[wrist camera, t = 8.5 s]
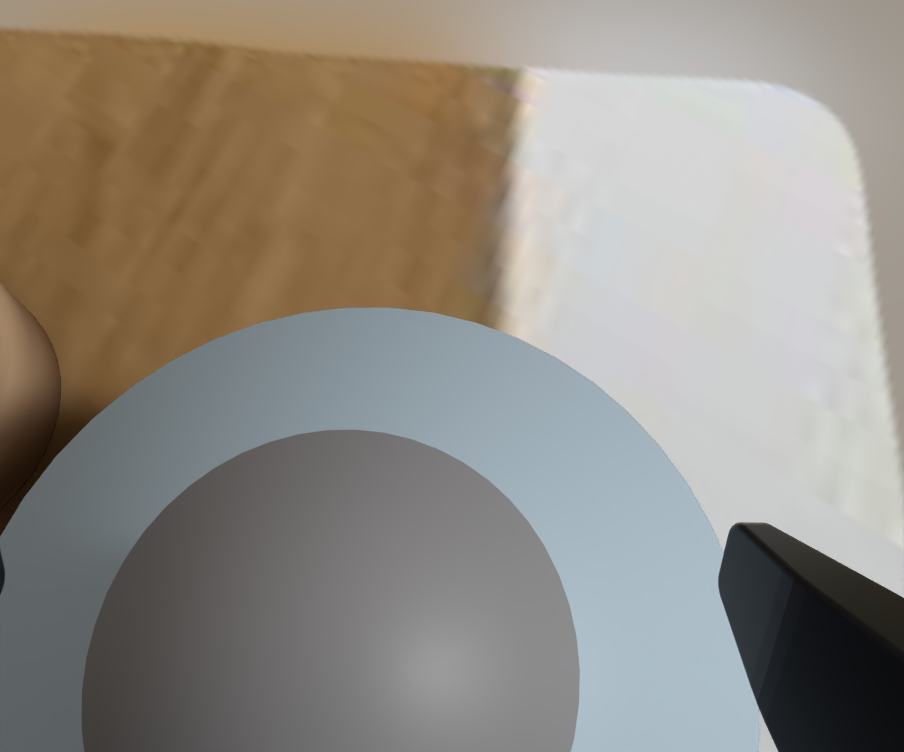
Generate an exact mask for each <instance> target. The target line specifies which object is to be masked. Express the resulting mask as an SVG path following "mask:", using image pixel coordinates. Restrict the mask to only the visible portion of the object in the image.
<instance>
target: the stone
mask: <svg viewBox="0 0 904 752" xmlns="http://www.w3.org/2000/svg"><path fill="white" fill-rule="evenodd" d="M60 398H61V377H60V371H59V365H58V360H57V357H56V354H55V351H54V348H53V345H52V343H51V341H50V339H49V337H48V336H47V334H46V332H45V330H44V329H43V327H42V326H41V325H40V323H39V322H38V321H37V319H36V318H35V317H34V316H33V315H32V314H31V313H30V312H29V311H28V310H27V309H26V308H25V307H24V306H23V305H22V304H21V303H20V302H19V301H18V300H17V299H16V298H15V297H14V296H13V295H12V294H11V293H10V292H9V291H8V290H7V289H6V288H5V287H4V286H3V285H2V284H1V283H0V508H2V507H3V506H4V505H5V504H6V503H7V502H8V501H9V500H10V499H11V498H12V497H13V496H14V495H15V494H16V492H17V491H18V490H19V489H20V488H21V487H22V486H23V484H24V483H25V482H26V480H27V479H28V478H29V476H30V475H31V474H32V472H33V471H34V470H35V468H36V466H37V464H38V463H39V461H40V459H41V458H42V456H43V454H44V452H45V450H46V448H47V446H48V443H49V441H50V439H51V436H52V434H53V431H54V428H55V424H56V420H57V417H58V413H59V405H60Z"/></svg>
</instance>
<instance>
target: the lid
mask: <svg viewBox="0 0 904 752" xmlns="http://www.w3.org/2000/svg"><path fill="white" fill-rule="evenodd" d="M0 550H1V554H2V559H3V563H4V567H5V582H4V586H3V590H2V592H1V595H0V752H759V740H760V723H759V707H758V705H757V702H756V700H755V697H754V694H753V692H752V689H751V686H750V683H749V680H748V677H747V674H746V671H745V668H744V666H743V663H742V660H741V657H740V654H739V651H738V648H737V645H736V642H735V639H734V636H733V633H732V630H731V627H730V624H729V621H728V618H727V615H726V612H725V609H724V606H723V603H722V600H721V597H720V594H719V588H718V575H719V570H720V566H721V562H722V558H723V554H724V553H723V550H722V548H721V546H720V543H719V541H718V539H717V536H716V534H715V532H714V529H713V527H712V525H711V523H710V521H709V520H708V518H707V516H706V515H705V513H704V511H703V509H702V508H701V506H700V504H699V502H698V501H697V499H696V497H695V495H694V494H693V492H692V490H691V488H690V487H689V485H688V483H687V482H686V481H685V479H684V478H683V476H682V475H681V474H680V472H679V471H678V470H677V468H676V467H675V466H674V464H673V463H672V462H671V460H670V459H669V458H668V456H667V455H666V453H665V452H664V451H663V449H662V448H661V447H660V445H659V444H658V443H657V442H656V441H655V440H654V439H653V438H652V437H651V436H650V435H649V434H648V433H647V431H646V430H645V429H644V428H643V427H642V426H641V425H640V424H639V423H638V422H637V421H636V420H635V419H634V418H633V416H632V415H631V414H630V413H629V412H628V411H627V410H625V409H624V408H623V407H622V406H621V405H620V404H618V403H617V402H616V401H615V400H614V399H613V398H611V397H610V396H609V395H608V394H607V393H605V392H604V391H603V390H602V389H601V388H600V387H598V386H597V385H596V384H595V383H594V382H592V381H591V380H589V379H588V378H586V377H585V376H583V375H582V374H580V373H579V372H577V371H576V370H574V369H573V368H571V367H570V366H568V365H567V364H565V363H564V362H562V361H561V360H559V359H558V358H556V357H554V356H552V355H550V354H548V353H546V352H544V351H542V350H540V349H538V348H536V347H534V346H532V345H530V344H528V343H526V342H524V341H522V340H520V339H518V338H516V337H513V336H511V335H508V334H505V333H502V332H500V331H497V330H494V329H492V328H489V327H486V326H483V325H481V324H478V323H475V322H470V321H466V320H462V319H458V318H454V317H449V316H445V315H441V314H437V313H431V312H422V311H414V310H405V309H397V308H341V309H333V310H324V311H316V312H307V313H301V314H296V315H292V316H288V317H284V318H280V319H275V320H271V321H267V322H263V323H259V324H256V325H253V326H250V327H247V328H245V329H242V330H239V331H236V332H234V333H231V334H228V335H225V336H222V337H220V338H217V339H214V340H212V341H210V342H208V343H206V344H204V345H202V346H200V347H198V348H196V349H194V350H192V351H190V352H188V353H186V354H184V355H182V356H180V357H178V358H176V359H174V360H172V361H171V362H169V363H168V364H166V365H165V366H163V367H161V368H160V369H158V370H157V371H155V372H154V373H152V374H151V375H149V376H147V377H146V378H144V379H143V380H141V381H140V382H138V383H137V384H135V385H134V386H132V387H131V388H129V389H128V390H127V391H126V392H125V393H123V394H122V395H121V396H120V397H118V398H117V399H116V400H115V401H114V402H112V403H111V404H110V405H109V406H107V407H106V408H105V409H104V410H103V411H101V412H100V413H99V414H98V415H96V416H95V417H94V418H93V419H92V420H91V421H90V422H89V423H88V424H87V425H86V426H85V427H84V428H83V429H82V430H81V431H80V432H79V433H78V434H77V435H76V436H75V437H74V438H73V439H72V440H71V441H70V442H69V443H68V444H67V445H66V447H65V448H64V449H63V450H62V451H61V452H60V453H59V454H58V455H57V456H56V457H55V458H54V460H53V461H52V462H51V463H50V465H49V466H48V467H47V469H46V470H45V471H44V472H43V474H42V475H41V476H40V478H39V479H38V480H37V482H36V483H35V484H34V485H33V487H32V488H31V489H30V491H29V492H28V493H27V494H26V496H25V497H24V498H23V500H22V502H21V503H20V505H19V506H18V508H17V510H16V511H15V513H14V515H13V516H12V518H11V520H10V521H9V523H8V525H7V526H6V528H5V530H4V531H3V533H2V534H1V536H0Z"/></svg>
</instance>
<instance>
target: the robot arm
mask: <svg viewBox="0 0 904 752" xmlns="http://www.w3.org/2000/svg"><path fill="white" fill-rule="evenodd" d="M4 582H5V567H4V563H3V559H2V554H1V550H0V595H1V592H2V590H3V586H4ZM718 588H719V594H720V597H721V600H722V603H723V606H724V609H725V612H726V615H727V618H728V621H729V624H730V627H731V630H732V633H733V636H734V639H735V642H736V645H737V648H738V651H739V654H740V657H741V660H742V663H743V666H744V668H745V671H746V674H747V677H748V680H749V683H750V686H751V689H752V692H753V694H754V697H755V700H756V702H757V705H758V707H759V710H760V712H761V714H762V717H763V719H764V721H765V723H766V726H767V728H768V730H769V732H770V734H771V736H772V739H773V741H774V743H775V745H776V747H777V750H778V752H904V598H903V597H901V596H899V595H898V594H896V593H894V592H892V591H890V590H888V589H887V588H885V587H883V586H881V585H879V584H878V583H876V582H874V581H872V580H870V579H868V578H867V577H865V576H863V575H861V574H859V573H857V572H856V571H854V570H852V569H850V568H848V567H846V566H845V565H843V564H841V563H839V562H837V561H836V560H834V559H832V558H830V557H828V556H826V555H825V554H823V553H821V552H819V551H817V550H815V549H814V548H812V547H810V546H808V545H806V544H804V543H803V542H801V541H799V540H797V539H795V538H794V537H792V536H790V535H788V534H786V533H784V532H783V531H781V530H779V529H777V528H775V527H773V526H772V525H770V524H767V523H743V522H741V523H736V524H735V525H733V526H732V528H731V529H730V531H729V534H728V538H727V542H726V546H725V550H724V554H723V558H722V562H721V566H720V570H719V575H718Z"/></svg>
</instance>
